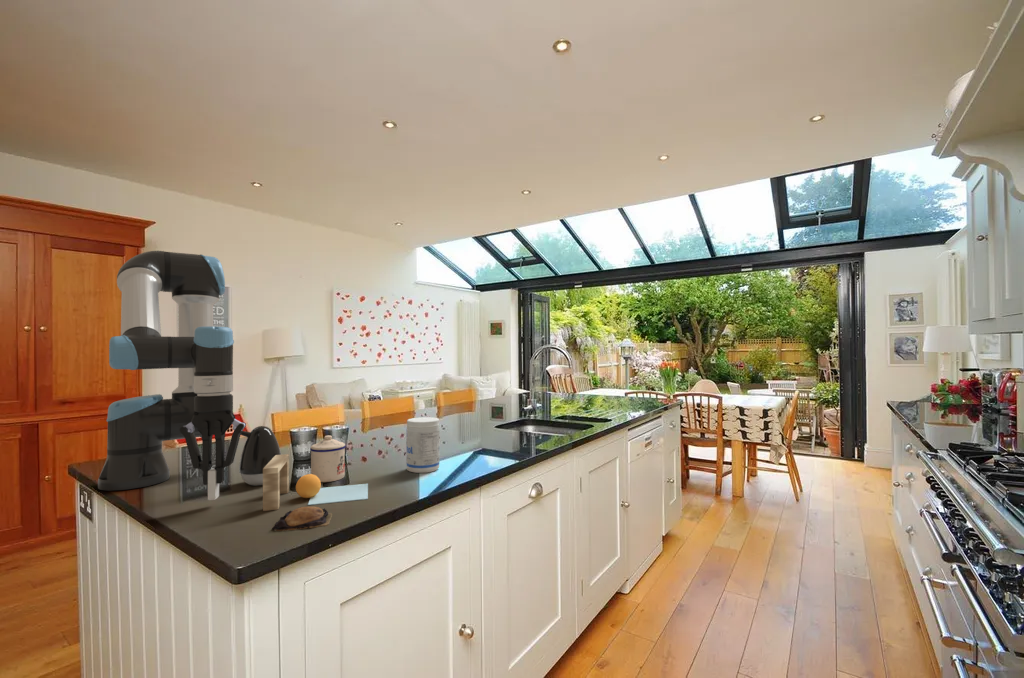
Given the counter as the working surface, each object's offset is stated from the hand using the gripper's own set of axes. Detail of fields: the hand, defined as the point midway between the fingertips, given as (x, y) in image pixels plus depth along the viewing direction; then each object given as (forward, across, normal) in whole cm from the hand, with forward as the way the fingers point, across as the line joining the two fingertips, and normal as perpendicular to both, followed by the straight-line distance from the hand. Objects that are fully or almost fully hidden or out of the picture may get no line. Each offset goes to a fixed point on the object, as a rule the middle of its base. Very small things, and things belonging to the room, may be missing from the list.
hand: (213, 498), depth 105 cm
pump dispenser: (+2, +6, +18) cm, 19 cm away
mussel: (+3, +21, -18) cm, 27 cm away
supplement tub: (+2, +49, +17) cm, 52 cm away
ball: (-1, +20, 0) cm, 20 cm away
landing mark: (+2, +27, 0) cm, 27 cm away
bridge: (+2, +13, 0) cm, 13 cm away
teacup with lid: (+2, +23, +18) cm, 29 cm away
